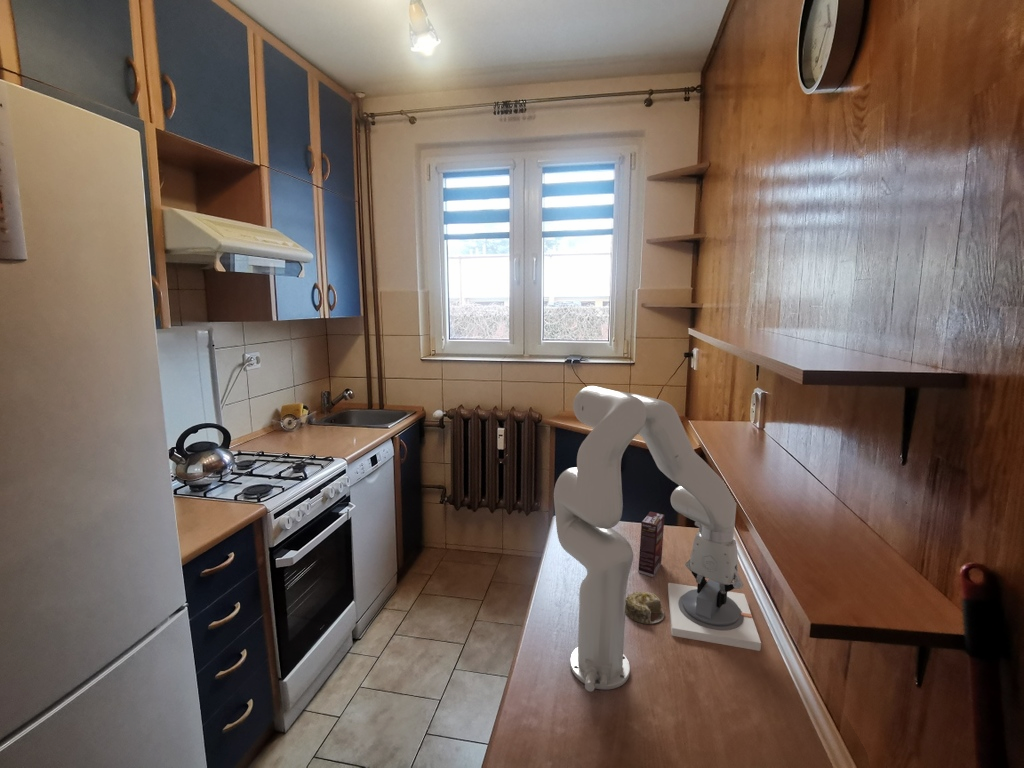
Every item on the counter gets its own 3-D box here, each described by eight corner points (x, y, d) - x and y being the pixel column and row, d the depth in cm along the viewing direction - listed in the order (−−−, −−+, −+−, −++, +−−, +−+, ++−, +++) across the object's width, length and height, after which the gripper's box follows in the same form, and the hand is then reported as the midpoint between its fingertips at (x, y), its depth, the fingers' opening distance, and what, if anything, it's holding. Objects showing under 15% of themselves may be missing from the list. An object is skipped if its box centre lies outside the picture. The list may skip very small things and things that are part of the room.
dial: (730, 634, 110) (733, 610, 109) (674, 611, 118) (676, 588, 117) (745, 606, 120) (747, 584, 119) (692, 587, 128) (694, 566, 127)
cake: (617, 618, 120) (616, 597, 120) (632, 598, 128) (631, 579, 128) (656, 630, 114) (656, 609, 114) (669, 609, 123) (669, 589, 122)
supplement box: (654, 578, 136) (657, 525, 133) (637, 573, 139) (640, 521, 136) (662, 564, 143) (665, 514, 141) (646, 559, 146) (649, 510, 143)
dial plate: (760, 651, 108) (761, 641, 107) (671, 635, 113) (672, 626, 112) (743, 600, 126) (744, 592, 126) (667, 589, 131) (668, 581, 130)
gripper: (676, 525, 119) (672, 593, 122) (747, 550, 107) (740, 624, 110) (690, 516, 124) (685, 581, 127) (759, 538, 112) (752, 609, 116)
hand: (711, 600), depth 119 cm, fingers closed on dial, 3 cm apart
